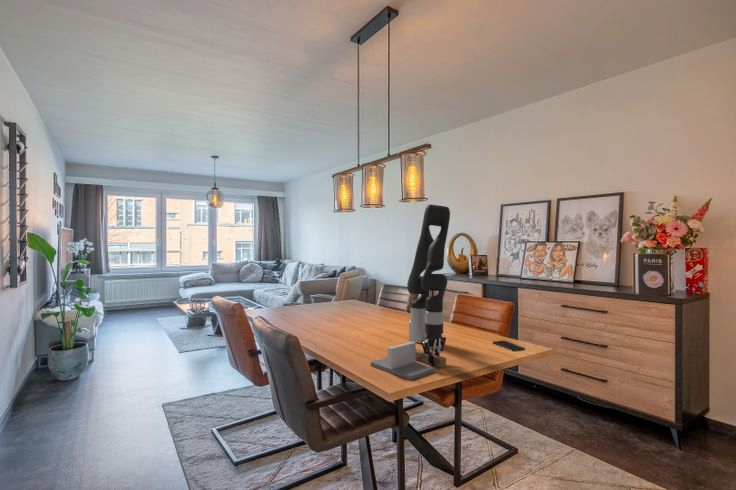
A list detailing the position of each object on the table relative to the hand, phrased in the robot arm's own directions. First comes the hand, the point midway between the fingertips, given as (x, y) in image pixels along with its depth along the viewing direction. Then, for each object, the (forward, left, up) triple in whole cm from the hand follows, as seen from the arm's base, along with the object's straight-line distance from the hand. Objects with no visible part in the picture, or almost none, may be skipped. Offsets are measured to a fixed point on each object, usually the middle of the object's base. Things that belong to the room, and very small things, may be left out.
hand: (433, 363), depth 162 cm
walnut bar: (-5, 0, -1) cm, 5 cm away
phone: (+6, +49, -1) cm, 49 cm away
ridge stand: (-5, -14, -1) cm, 15 cm away
